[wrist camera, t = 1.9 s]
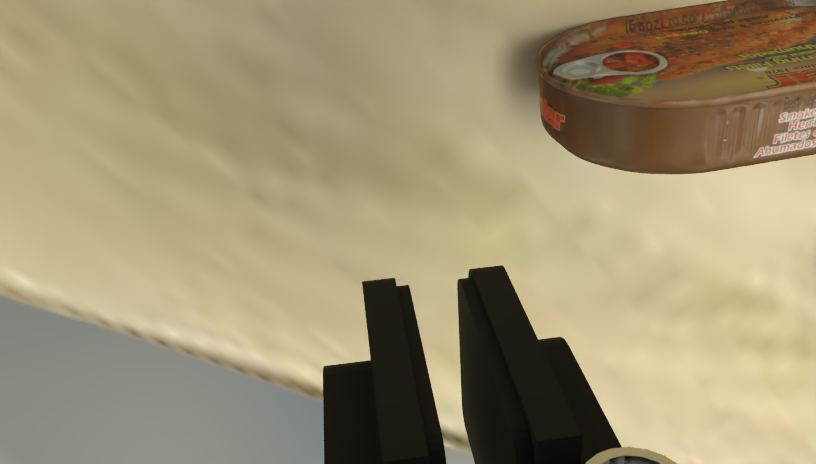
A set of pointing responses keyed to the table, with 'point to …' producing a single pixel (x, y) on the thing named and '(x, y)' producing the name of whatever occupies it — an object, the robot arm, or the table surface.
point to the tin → (685, 87)
